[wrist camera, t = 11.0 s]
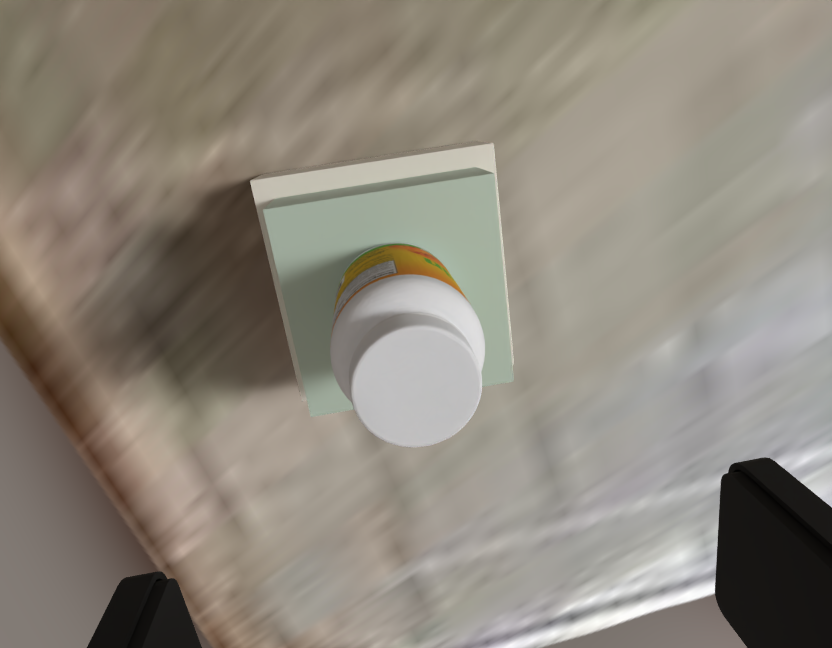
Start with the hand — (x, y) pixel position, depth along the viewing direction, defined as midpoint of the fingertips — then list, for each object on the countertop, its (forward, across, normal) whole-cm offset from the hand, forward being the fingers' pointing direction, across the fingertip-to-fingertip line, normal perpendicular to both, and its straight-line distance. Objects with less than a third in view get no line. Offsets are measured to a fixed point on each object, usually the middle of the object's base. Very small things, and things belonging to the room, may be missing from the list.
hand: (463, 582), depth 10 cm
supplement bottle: (+18, 0, 0) cm, 18 cm away
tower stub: (+25, 0, +1) cm, 25 cm away
